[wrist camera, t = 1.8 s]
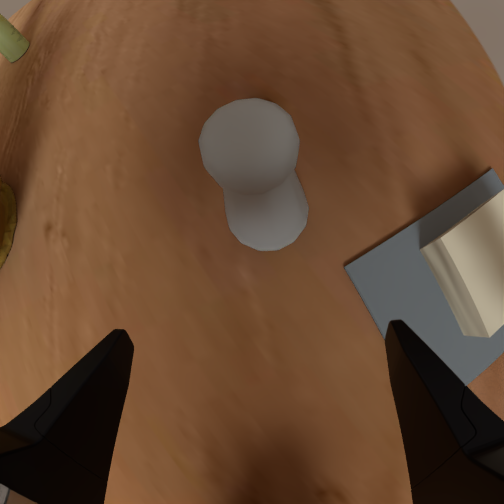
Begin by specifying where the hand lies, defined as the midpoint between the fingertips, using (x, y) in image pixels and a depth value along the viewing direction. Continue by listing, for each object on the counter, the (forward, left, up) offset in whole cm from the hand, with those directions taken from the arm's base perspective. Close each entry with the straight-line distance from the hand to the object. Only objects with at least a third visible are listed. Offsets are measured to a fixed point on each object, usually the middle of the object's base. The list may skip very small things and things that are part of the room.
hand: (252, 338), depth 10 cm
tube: (-18, +58, -14) cm, 62 cm away
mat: (+15, -6, -13) cm, 21 cm away
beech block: (+16, -5, -13) cm, 22 cm away
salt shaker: (+3, +7, -14) cm, 16 cm away
